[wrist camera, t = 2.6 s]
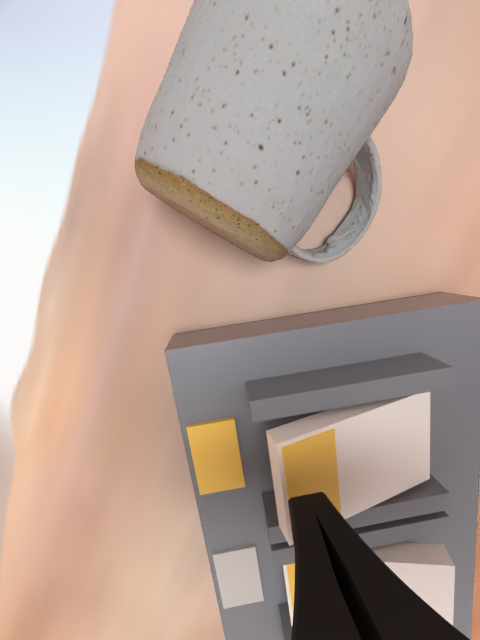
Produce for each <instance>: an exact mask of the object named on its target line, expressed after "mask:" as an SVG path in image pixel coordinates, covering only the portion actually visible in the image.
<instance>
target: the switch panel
mask: <svg viewBox="0 0 480 640" xmlns="http://www.w3.org/2000/svg"><path fill="white" fill-rule="evenodd" d="M165 355H166V360H167V365H168V369H169V374H170V379H171V383H172V388H173V393H174V398H175V402H176V407H177V412H178V416H179V421H180V426H181V431H182V435H183V440H184V445H185V450H186V454H187V459H188V464H189V468H190V473H191V478H192V483H193V487H194V492H195V497H196V501H197V506H198V511H199V516H200V520H201V525H202V530H203V535H204V539H205V544H206V549H207V553H208V558H209V563H210V568H211V572H212V577H213V582H214V586H215V591H216V596H217V601H218V605H219V610H220V615H221V620H222V624H223V629H224V634H225V638H226V640H291V636H292V626H291V620H290V613H289V606H288V598H287V591H286V584H285V577H284V570H283V565H288V564H293V563H295V547H294V544H293V545H291V546H289V544H288V542H287V540H286V538H285V536H284V535H283V533H282V531H281V529H280V527H279V521H278V514H277V507H276V500H275V492H274V485H273V478H272V471H271V463H270V456H269V449H268V441H267V434H266V431H267V430H270V429H273V428H276V427H279V426H282V425H285V424H287V423H290V422H293V421H296V420H299V419H302V418H305V417H308V416H311V415H314V414H317V413H320V412H323V411H326V410H329V409H334V408H340V407H346V406H351V405H357V404H363V403H369V402H374V401H380V400H386V399H392V398H397V397H403V396H409V395H414V394H420V393H426V392H430V479H429V480H427V481H424V482H422V483H420V484H418V485H416V486H414V487H412V488H410V489H408V490H406V491H404V492H401V493H399V494H397V495H395V496H393V497H391V498H389V499H387V500H385V501H383V502H381V503H379V504H376V505H374V506H372V507H370V508H368V509H366V510H364V511H362V512H360V513H358V514H356V515H354V516H351V517H349V518H347V519H345V520H346V521H347V522H348V524H349V525H350V526H351V527H352V528H353V529H354V531H355V532H356V533H357V534H358V535H359V536H360V537H361V538H362V539H363V541H364V542H365V543H366V544H367V545H368V546H369V547H370V548H373V547H378V546H383V545H388V544H393V543H398V542H401V543H422V544H444V546H445V548H446V550H447V552H448V554H449V556H450V557H451V559H452V561H453V563H454V565H455V584H454V615H453V626H454V627H455V628H456V629H458V630H459V631H460V632H461V633H463V634H464V635H465V636H466V637H468V638H469V639H470V640H471V625H472V606H473V587H474V568H475V549H476V529H477V510H478V491H479V472H480V298H479V297H472V296H465V295H458V294H451V293H444V292H439V293H432V294H426V295H420V296H413V297H407V298H401V299H394V300H388V301H382V302H375V303H369V304H363V305H356V306H350V307H344V308H337V309H331V310H324V311H318V312H312V313H305V314H299V315H293V316H286V317H280V318H274V319H267V320H261V321H255V322H248V323H242V324H236V325H229V326H223V327H217V328H210V329H204V330H198V331H191V332H185V333H178V334H174V335H173V337H172V339H171V340H170V342H169V344H168V346H167V347H166V349H165Z"/></svg>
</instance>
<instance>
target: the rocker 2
mask: <svg viewBox="0 0 480 640" xmlns="http://www.w3.org/2000/svg"><path fill="white" fill-rule="evenodd" d="M371 549H372V550H373V552H374V553H375V554H376V555H377V556H378V557H379V558H380V559H381V560H382V561H383V562H384V563H385V564H386V565H387V566H388V567H389V568H390V569H391V570H392V571H393V572H394V573H395V574H396V575H397V576H398V577H399V578H400V579H401V580H402V581H403V582H404V583H405V584H406V585H407V586H408V587H409V588H411V589H412V590H413V591H414V592H415V593H416V594H417V595H418V596H419V597H420V598H421V599H423V600H424V601H425V602H426V603H427V604H428V605H429V606H430V607H432V608H433V609H434V610H435V611H436V612H437V613H438V614H440V615H441V616H442V617H443V618H444V619H445V620H447V621H448V622H449V623H450V624H451V625H453V615H454V584H455V565H454V563H453V561H452V559H451V557H450V556H449V554H448V552H447V550H446V548H445V546H444V544H422V543H401V542H398V543H393V544H388V545H383V546H378V547H373V548H371ZM283 570H284V577H285V584H286V591H287V598H288V606H289V613H290V620H291V626H292V624H293V610H294V590H295V563H293V564H288V565H283Z"/></svg>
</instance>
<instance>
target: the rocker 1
mask: <svg viewBox="0 0 480 640" xmlns="http://www.w3.org/2000/svg"><path fill="white" fill-rule="evenodd" d="M266 434H267V441H268V449H269V456H270V463H271V471H272V478H273V485H274V492H275V500H276V507H277V514H278V521H279V527H280V529H281V531H282V533H283V535H284V536H285V538H286V540H287V542H288V544H289V546H291V545H293V544H294V543H293V537H292V529H291V521H290V513H289V506H288V500H289V499H290V498H291V497H297V496H302V495H307V494H312V493H318V492H323V493H325V494H326V496H327V497H328V498H329V500H330V501H331V502H332V504H333V505H334V506H335V508H336V509H337V510H338V511H339V513H340V514H341V515H342V516H343V518H344V519H347V518H349V517H351V516H354V515H356V514H358V513H360V512H362V511H364V510H366V509H368V508H370V507H372V506H374V505H376V504H379V503H381V502H383V501H385V500H387V499H389V498H391V497H393V496H395V495H397V494H399V493H401V492H404V491H406V490H408V489H410V488H412V487H414V486H416V485H418V484H420V483H422V482H424V481H427V480H429V479H430V392H426V393H420V394H414V395H409V396H403V397H397V398H392V399H386V400H380V401H374V402H369V403H363V404H357V405H351V406H346V407H340V408H334V409H329V410H326V411H323V412H320V413H317V414H314V415H311V416H308V417H305V418H302V419H299V420H296V421H293V422H290V423H287V424H285V425H282V426H279V427H276V428H273V429H270V430H267V431H266Z"/></svg>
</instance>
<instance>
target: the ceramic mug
mask: <svg viewBox="0 0 480 640" xmlns="http://www.w3.org/2000/svg"><path fill="white" fill-rule="evenodd" d="M412 42H413V32H412V23H411V10H410V7H409V3H408V0H195V1H194V3H193V5H192V7H191V10H190V13H189V16H188V17H187V20H186V23H185V25H184V27H183V30H182V32H181V34H180V37H179V39H178V42H177V45H176V47H175V50H174V52H173V55H172V57H171V60H170V62H169V66H168V68H167V71H166V73H165V76H164V78H163V80H162V83H161V85H160V87H159V89H158V92H157V94H156V96H155V98H154V100H153V103H152V105H151V107H150V110H149V112H148V115H147V117H146V120H145V123H144V126H143V128H142V131H141V135H140V140H139V144H138V148H137V152H136V157H135V170H136V175H137V177H138V179H139V181H140V183H141V185H142V186H143V187H144V188H145V189H146V190H147V191H149V192H150V193H151V194H153V195H154V196H156V197H157V198H159V199H160V200H162V201H163V202H165V203H167V204H168V205H170V206H171V207H173V208H175V209H176V210H178V211H179V212H181V213H183V214H184V215H186V216H187V217H189V218H191V219H192V220H194V221H195V222H197V223H199V224H200V225H202V226H204V227H205V228H207V229H209V230H210V231H212V232H214V233H216V234H217V235H219V236H221V237H222V238H224V239H226V240H227V241H229V242H231V243H232V244H234V245H236V246H238V247H240V248H241V249H243V250H245V251H246V252H248V253H250V254H252V255H254V256H256V257H258V258H260V259H262V260H264V261H270V262H271V261H275V260H278V259H281V258H283V257H284V256H285V255H286V254H287V253H288V254H290V255H293V256H295V257H298V258H300V259H303V260H306V261H310V262H318V263H326V262H329V261H332V260H335V259H337V258H339V257H341V256H343V255H344V254H346V253H347V252H348V251H349V250H350V249H351V248H352V247H353V246H354V245H355V244H356V243H357V242H358V241H359V240H360V239H361V237H362V236H363V235H364V233H365V232H366V231H367V229H368V227H369V226H370V224H371V222H372V220H373V218H374V216H375V213H376V210H377V207H378V204H379V200H380V195H381V166H380V161H379V156H378V152H377V149H376V147H375V144H374V142H373V140H372V137H371V135H370V134H371V133H372V132H373V130H374V129H375V127H376V126H377V124H378V123H379V121H380V120H381V118H382V117H383V115H384V114H385V112H386V111H387V109H388V108H389V106H390V105H391V103H392V102H393V100H394V99H395V97H396V95H397V93H398V91H399V89H400V88H401V86H402V84H403V82H404V80H405V77H406V73H407V70H408V66H409V63H410V60H411V57H412ZM351 163H353V166H354V170H355V175H356V190H355V199H354V202H353V204H352V208H351V210H350V212H349V214H348V215H347V216H346V218H345V219H344V220H343V222H342V223H341V224H340V226H339V227H338V228H337V230H336V231H335V232H334V233H333V235H331V236H329V237H328V239H327V240H326V242H325V244H324V245H323V246H321V247H319V248H317V249H311V250H302V249H300V248H299V247H298V246H296V244H297V243H298V242H299V241H300V239H301V238H302V237H303V236H304V234H305V233H306V232H307V230H308V229H309V228H310V226H311V225H312V223H313V222H314V220H315V219H316V217H317V215H318V214H319V212H320V211H321V209H322V207H323V205H324V204H325V202H326V200H327V199H328V197H329V195H330V194H331V192H332V190H333V189H334V187H335V186H336V185H337V183H338V182H339V180H340V179H341V177H342V176H343V174H344V173H345V171H346V170H347V168H348V167H349V166H350V164H351Z"/></svg>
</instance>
